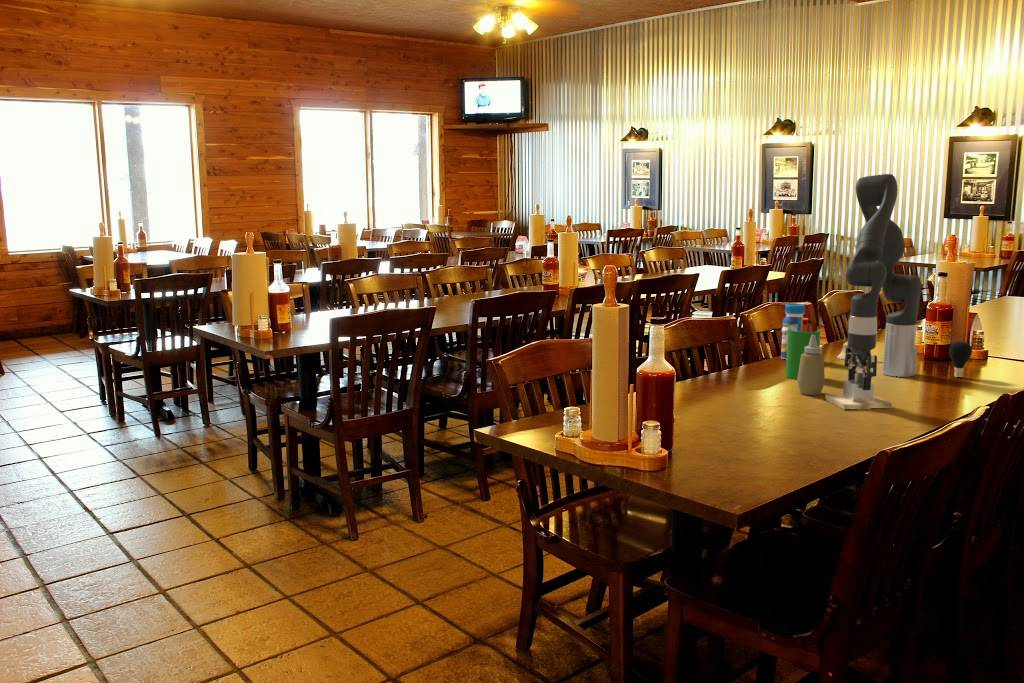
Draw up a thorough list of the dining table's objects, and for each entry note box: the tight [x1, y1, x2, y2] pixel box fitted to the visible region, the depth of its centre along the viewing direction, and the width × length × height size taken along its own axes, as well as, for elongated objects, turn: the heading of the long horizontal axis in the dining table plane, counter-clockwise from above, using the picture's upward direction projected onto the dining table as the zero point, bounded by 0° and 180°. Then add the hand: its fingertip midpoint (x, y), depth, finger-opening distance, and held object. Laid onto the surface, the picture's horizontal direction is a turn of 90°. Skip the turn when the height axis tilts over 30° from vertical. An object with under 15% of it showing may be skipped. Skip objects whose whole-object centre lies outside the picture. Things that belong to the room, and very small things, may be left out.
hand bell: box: [836, 316, 850, 361], centre depth 321 cm, size 8×8×16 cm
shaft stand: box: [824, 372, 893, 410], centre depth 256 cm, size 14×12×9 cm
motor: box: [785, 317, 821, 380], centre depth 290 cm, size 10×9×20 cm
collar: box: [842, 379, 875, 402], centre depth 256 cm, size 6×6×5 cm
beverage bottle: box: [780, 302, 806, 360], centre depth 319 cm, size 8×8×20 cm
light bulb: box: [948, 340, 973, 378], centre depth 289 cm, size 7×7×12 cm
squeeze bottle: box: [796, 335, 826, 396], centre depth 268 cm, size 8×8×18 cm
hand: (858, 386), depth 256 cm, fingers open, 8 cm apart
